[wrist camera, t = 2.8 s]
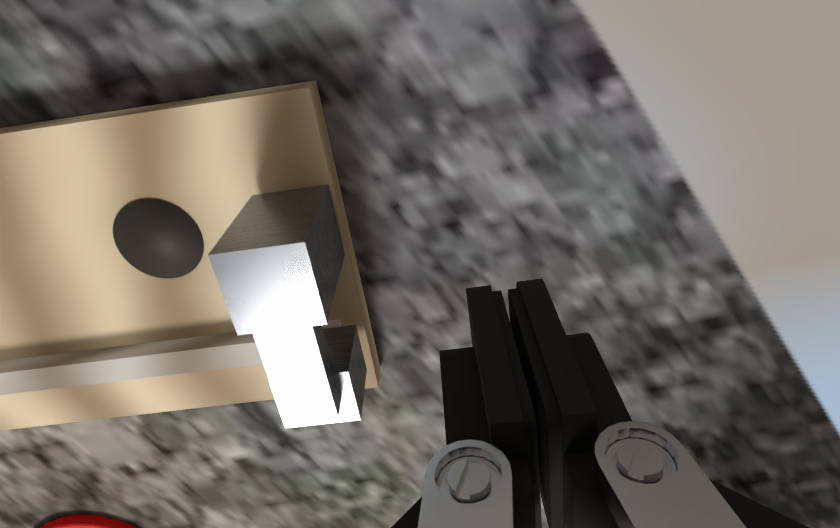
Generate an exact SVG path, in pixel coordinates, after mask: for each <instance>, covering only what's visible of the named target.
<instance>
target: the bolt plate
mask: <svg viewBox="0 0 840 528" xmlns="http://www.w3.org/2000/svg"><path fill="white" fill-rule="evenodd" d="M322 185H329V188H330V192H331V196H332V200H333V205H334V209H335V213H336V218H337V222H338V226H339V230H340V235H341V239H342V243H343V248H344V252H345V256H344V260H343V264H342V268H341V272H340V276H339V280H338V284H337V288H336V292H335V296H334V300H333V303H332V307H331V311H330V315H329V319H328V323H327V325H322V329H325V328H333V327H341V326H349V325H356V326H357V330H358V335H359V339H360V343H361V347H362V351H363V355H364V360H365V364H366V368H367V374H366V382H365V389H366V388H375V387H378V386H379V375H380V364H379V359H378V355H377V350H376V346H375V341H374V337H373V332H372V328H371V323H370V319H369V314H368V310H367V306H366V301H365V297H364V292H363V288H362V283H361V279H360V274H359V270H358V265H357V261H356V256H355V252H354V247H353V243H352V239H351V234H350V230H349V225H348V221H347V216H346V212H345V207H344V203H343V198H342V194H341V189H340V185H339V180H338V176H337V172H336V167H335V163H334V158H333V154H332V149H331V145H330V140H329V136H328V131H327V127H326V122H325V118H324V113H323V109H322V105H321V100H320V96H319V91H318V87H317V82H316V80H315V81H309V82H302V83H296V84H289V85H282V86H276V87H269V88H262V89H256V90H249V91H242V92H236V93H229V94H223V95H216V96H209V97H203V98H196V99H189V100H183V101H176V102H170V103H163V104H156V105H150V106H143V107H136V108H130V109H123V110H117V111H110V112H103V113H97V114H90V115H83V116H77V117H70V118H64V119H57V120H50V121H44V122H37V123H30V124H24V125H17V126H10V127H4V128H0V430H9V429H17V428H26V427H35V426H43V425H52V424H61V423H70V422H78V421H87V420H96V419H105V418H113V417H122V416H131V415H139V414H148V413H157V412H166V411H174V410H183V409H192V408H201V407H209V406H218V405H227V404H235V403H244V402H253V401H262V400H270V399H274V396H273V393H272V390H271V388H270V385H269V382H268V380H269V379H268V377H267V374H266V371H265V368H264V365H263V362H262V359H261V357H260V354H259V351H258V348H257V345H256V342H255V340H254V337H253V334H245V335H237V333H236V330H235V327H234V324H233V322H232V319H231V316H230V314H229V311H228V308H227V305H226V303H225V300H224V297H223V295H222V292H221V289H220V286H219V284H218V281H217V278H216V276H215V273H214V270H213V267H212V265H211V262H210V259H209V257H208V254H209V253H210V251H211V250H212V249H213V247H214V246H215V245H216V243H217V242H218V241H219V239H220V238H221V237H222V235H223V234H224V233H225V231H226V230H227V228H228V227H229V226H230V224H231V223H232V222H233V220H234V219H235V218H236V216H237V215H238V214H239V212H240V211H241V210H242V208H243V207H244V205H245V204H246V203H247V201H248V200H249V199H250V197H251V196H252V195H257V194H264V193H271V192H279V191H286V190H293V189H300V188H307V187H315V186H322Z"/></svg>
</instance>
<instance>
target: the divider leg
mask: <svg viewBox="0 0 840 528" xmlns="http://www.w3.org/2000/svg"><path fill="white" fill-rule="evenodd" d="M344 256H345V252H344V248H343V243H342V239H341V235H340V230H339V226H338V222H337V218H336V213H335V209H334V205H333V200H332V196H331V192H330V188H329V185H322V186H315V187H307V188H300V189H293V190H286V191H279V192H271V193H264V194H257V195H252V196H251V197H250V199H249V200H248V201H247V203H246V204H245V205H244V207H243V208H242V210H241V211H240V212H239V214H238V215H237V216H236V218H235V219H234V220H233V222H232V223H231V224H230V226H229V227H228V228H227V230H226V231H225V233H224V234H223V235H222V237H221V238H220V239H219V241H218V242H217V243H216V245H215V246H214V247H213V249H212V250H211V251H210V253H209V254H208V257H209V259H210V262H211V265H212V267H213V270H214V273H215V276H216V278H217V281H218V284H219V286H220V289H221V292H222V295H223V297H224V300H225V303H226V305H227V308H228V311H229V314H230V316H231V319H232V322H233V324H234V327H235V330H236V333H237V335H245V334H253V337H254V340H255V342H256V345H257V348H258V351H259V354H260V357H261V359H262V362H263V365H264V368H265V371H266V374H267V377H268V379H269V380H268V382H269V385H270V388H271V390H272V393H273V396H274V399H275V402H276V405H277V407H278V410H279V413H280V416H281V419H282V422H283V424H284V427H285V428H294V427H303V426H312V425H321V424H330V423H339V422H348V421H357V420H361V414H362V406H363V398H364V390H365V382H366V374H367V368H366V364H365V360H364V355H363V351H362V347H361V343H360V339H359V335H358V330H357V326H356V325H349V326H341V327H333V328H325V329H322V325H327V323H328V319H329V315H330V311H331V307H332V303H333V300H334V296H335V292H336V288H337V284H338V280H339V276H340V272H341V268H342V264H343V260H344Z"/></svg>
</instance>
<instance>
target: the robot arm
mask: <svg viewBox="0 0 840 528" xmlns="http://www.w3.org/2000/svg"><path fill="white" fill-rule="evenodd" d="M516 287H517V288H516V289H509V290H508V300H509V313H510V321H509V318H508V314H507V310H506V307H505V303H504V299H503V296H502V292H501V291H493V292H492V289H491V286H490V285H489V286H481V287H473V288H466V294H467V303H468V311H469V320H470V328H471V337H472V345H473V347H468V348H460V349H451V350H443V351H440V366H441V379H442V392H443V404H444V417H445V430H446V443H447V445H446V446H445V447H443V448H442V449H441V450H439V451H438V452H437V453H436V454H435V455H434V456H433V458H432V459H431V460H430V462H429V464H428V467H427V470H426V473H425V480H424V487H423V494H422V497H421V498H420V499H419V500H418V501H417V502H416V503H415V504H414V505H413V506H412V507H411V508H410V509H409V510H408V511H407V512H406V513H405V514H404V515H403V516H402V517H401V518H400V519H399V520H398V521H397V522H396V523H395V524H394V525H393V526H392V527H391V528H542V522H541V502H540V493H541V497H542V501H543V506H544V510H545V514H546V518H547V522H548V526H549V528H809V527H806V526H804V525H802V524H800V523H798V522H796V521H794V520H792V519H790V518H788V517H786V516H784V515H782V514H780V513H778V512H776V511H774V510H772V509H769V508H767V507H765V506H763V505H761V504H759V503H757V502H755V501H753V500H751V499H749V498H747V497H745V496H743V495H741V494H739V493H737V492H735V491H732V490H730V489H728V488H726V487H724V486H722V485H720V484H718V483H716V482H714V481H712V480H710V479H708V477H707V476H706V475H705V473H704V472H703V471H702V469H701V468H700V467H699V466H698V464H697V463H696V462H695V460H694V459H693V458H692V456H691V455H690V454H689V453H688V451H687V450H686V449H685V447H684V446H683V445H682V444H681V443H680V442H679V441H678V440H677V439H676V438H675V437H674V436H673V435H672V434H670V433H669V432H667V431H665V430H664V429H662V428H660V427H657V426H655V425H652V424H649V423H644V422H636V421H632V420H631V418H630V416H629V413H628V411H627V409H626V407H625V405H624V403H623V401H622V399H621V397H620V395H619V393H618V391H617V389H616V386H615V384H614V382H613V380H612V378H611V376H610V374H609V372H608V370H607V368H606V366H605V364H604V361H603V359H602V357H601V355H600V353H599V351H598V349H597V347H596V345H595V343H594V341H593V339H592V337H591V335H590V334H589V333H581V334H573V335H566V334H565V331H564V329H563V327H562V324H561V322H560V319H559V317H558V314H557V312H556V310H555V307H554V305H553V302H552V300H551V298H550V295H549V293H548V290H547V288H546V286H545V283H544V281H543V279H535V280H527V281H520V282H517V286H516Z"/></svg>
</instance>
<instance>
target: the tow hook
mask: <svg viewBox="0 0 840 528" xmlns="http://www.w3.org/2000/svg"><path fill="white" fill-rule="evenodd" d="M41 528H136V527H134V526H132V525H129V524H127V523H124V522H122V521H119V520H116V519H111V518H107V517H102V516H95V515H74V516H67V517H61V518H59V519H56V520H53V521H51V522H48V523H46V524H45V525H44V526H42V527H41Z"/></svg>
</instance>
